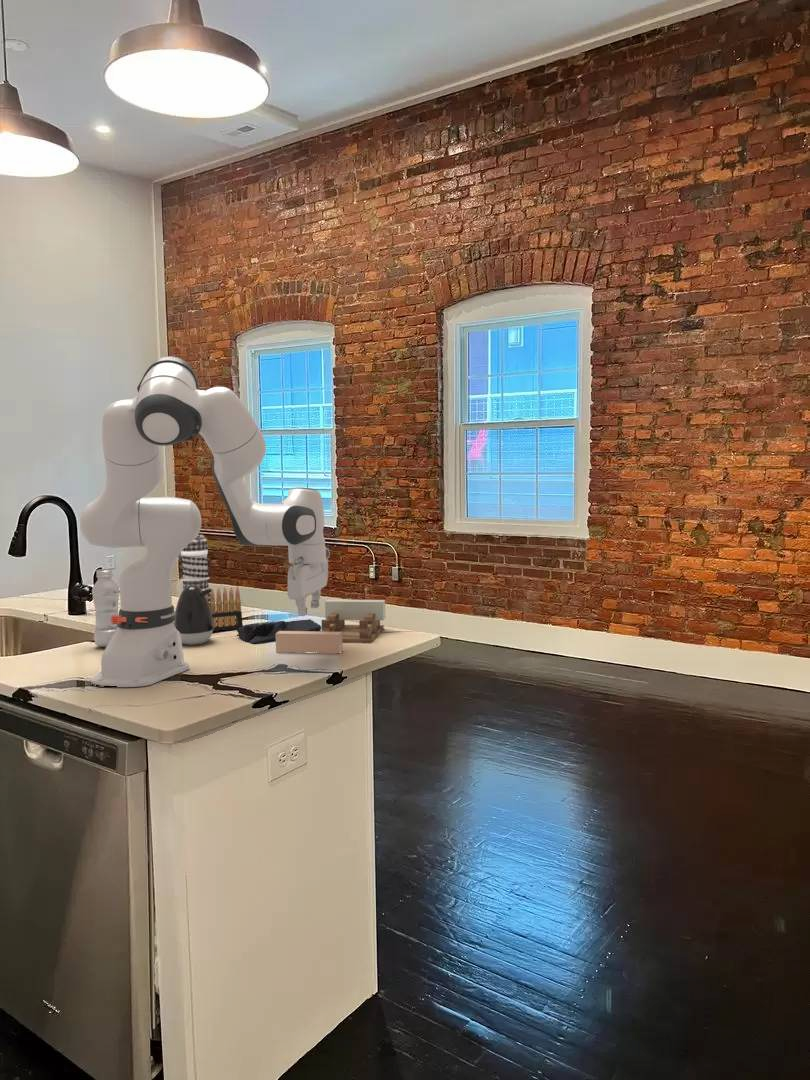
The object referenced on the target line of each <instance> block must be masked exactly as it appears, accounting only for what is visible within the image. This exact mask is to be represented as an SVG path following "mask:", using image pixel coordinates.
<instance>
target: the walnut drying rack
mask: <svg viewBox="0 0 810 1080" xmlns="http://www.w3.org/2000/svg"><path fill="white" fill-rule="evenodd" d="M358 621H359V624H346V623H345V622H346V620H339V613H331V614H330V615H328V616H327V620H326V619H321V632H342V641H343V643H349V642H362V644H371V643H372V642H373V641H375V639H376V638H377V637H378V636H379V635H380V634H381V633H382V632H383V631H384V630H385V625H383V624H381V620H375V614H374V613H368V614H367V615H366V616H364V620H358ZM383 627H384V628H383Z"/></svg>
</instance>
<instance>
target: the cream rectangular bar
mask: <svg viewBox="0 0 810 1080" xmlns="http://www.w3.org/2000/svg"><path fill="white" fill-rule="evenodd" d="M324 609H325V611H324V612H325V614H324V615H325V620H327V616H328V615H330V614H331V613H339V620H345V621H360V620H364V616H366V615H367V614H368V613H374V614H375V620H380V621H384V620H386V618H387V617H386V599H327V600H325V601H324Z"/></svg>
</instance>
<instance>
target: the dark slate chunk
mask: <svg viewBox="0 0 810 1080" xmlns="http://www.w3.org/2000/svg"><path fill="white" fill-rule="evenodd" d="M279 631H317V632H321V631H322V624H321V625H320V624H319V623H317V622H315V621H314V620H312V619H310V618H309V619H297V620H290V621H285V620H279V621H270V622H265V623H262V624H260V623H252V624H245V625H243V627H240V628H238V629H236V632H237V633H238V634H236V635H237V636H236V637H238V636H239V637H238V638H239V640H240V639H241V640H240V641H242V640H243V642H244V641H245V643H249V644H253V645H257V644H259V645H260V644H263V643H273V642H276V635H275V634H276V633H277V632H279Z"/></svg>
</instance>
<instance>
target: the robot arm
mask: <svg viewBox="0 0 810 1080" xmlns="http://www.w3.org/2000/svg"><path fill="white" fill-rule="evenodd" d="M198 385H199V384H198V378H197V375H196V373H195V370H194V369H193V367H192V366H191V365H190V364H189V363H188V362H187V361H185V360H184V359H183V358H180V357H177V356H171V355H169V356H163V357H160V358H158V359H157V360H155V361H154V362H152V363H151V365H150V366H149V367H148V368H147V369H146V371H145V373H143V376H142V379H141V380H140V381H139V384H138V386H137V387H136V389H137V390H136V391H137V392H138V393H137V395H136V396H135V397H134V398H131V399H120V400H117V401H114V402H112V403H110V404H109V405H108V406H107V407H106V408H105V409H104V412H103V414H102V420H101V421H102V422H101V440H102V441H101V442H102V450H103V451H102V452H103V456H104V463H105V473H106V475H105V476H106V480H105V481H106V482H105V486H104V488H103V491H102V492H101V494H100V495H98V497H96V498H95V499H93V500H92V501H91V502H88V504H87V505H86V506H85V507H84V509H83V510H82V512H81V514H80V519H79V526H80V530H81V533H82V536H83V537H84V539H85V540H86V541H87V542H88V544H90V545H91V546H97V547H101V548H103V547H104V548H111V549H115V548H116V549H117V548H118V549H119V548H134V547H135V548H139V547H140V548H142V547H143V548H146V555H145V556H144V557H143V558H142V559H140V560H137V561H136V562H134V563H132V564H130V565H129V566H126V568H124V569H123V571H122V572H121V573H120V575H119V579H118V581H119V582H118V583H119V585H118V587H119V600H120V609H118V610H119V611H118V616H117V615H112V616H111V617H112V618H111V619H112V620H111V623H112V624H117V626H118V628H117V631H116V632H115V634H114V636H113V637H112V639H111V641H110V642H109V644H108V646H107V647H105V649H104V650H103V651H102V654H101V659H100V670H101V671H100V672H98V673H97V674H96V675H94V676H93V677H91V678H90V679H89V683H90V682H92V683H95V684H100V685H109V686H117V687H116V688H136V687H147V686H150V685H153V684H156V683H158V682H161V681H163V680H165V679H168V678H170V677H173V676H175V675H178V674H180V673H183V672H185V671H187V670H190V664H189V663H188V662H185V658H184V651H183V643H182V642H181V635H180V632H179V631H178V630H177V629H176V627H175V625H174V621H175V606H174V604H173V603H172V601H173V600H172V596H173V595H172V583H173V582H172V577H173V570H174V567H175V564H176V562H177V560H178V558H179V554H181V551H182V550H183V549H184V548H185V547H186V546H187V545H188V544H189V543H190V542H192V541H193V540H194V539H195V538H196V537H197V535H199V533H200V531H201V528H202V523H203V522H202V515H201V512H200V509H199V507H198V506H197V504H196V503H194V501H192V500H191V499H185V498H181V497H176V496H175V497H174V496H159V497H158V496H157V497H147V496H149V495H151V493H153V492H154V491H155V490H156V489H157V488H158V486H159V485H160V484H161V482H162V478H163V470H162V463H161V454H160V453H161V451H160V447H161V446H162V447H163V446H164V447H165V446H173V445H176V444H180V443H181V442H184V441H185V442H186V441H192V440H194V439H195V438H196V437H197V436H198V435H200V437H202V439H203V440H204V442H205V443H206V445H207V447H208V449H209V450H210V452H211V454H212V456H213V458H212V462H211V473H212V477H213V480H214V481H215V484H216V486H217V489H218V491H219V494H220V496H221V498H222V501H223V503H224V505H225V508H226V510H227V512H228V514H229V517H230V518H229V519H230V521H231V526H232V530H233V534H234V535H235V537H236V538H237V539H238V541H239V542H240V544H242V545H244V546H247V547H255V546H256V547H258V546H277V547H278V546H284V547H285V546H287V547H288V549H287V551H288V553H287V554H288V563H289V564H292V565H291V566H290V567H289V568H288V570H287V571H288V572H287V585H286V586H287V598H288V599H289V600H295V605H296V607H297V614H298V616H300V617H305V616H306V615H307V614H308V607H307V605H306V601H307V597H309V596H311V600H310V607H311V608H312V609H317V608H319V607H320V599H321V593H322V591H321V590H322V589H323V588H325V587H326V586H327V584H328V580H329V579H328V578H329V560H328V559H329V558H330V549H329V548H327V547H326V539H325V537H324V526H325V511H324V503H323V499H322V495H321V493H320V491H319V490H317V489H315V488H311V487H293V488H289V490H288V494H287V497H286V498H285V499H284V500H283V501H281V502H280V503H262V502H261V503H259V502H257V501H255V500H252V498H251V496H250V495H249V493H248V489H247V487H246V485H245V483H244V480H243V478H244V477H247V476H248V475H250V474H252V473H253V472H254V471H255V470H256V469H257V468H258V467H259V466H260V465H261V464H262V462H263V460H264V458H265V456H266V452H267V445H266V440H265V438H264V435H263V433H262V432H261V429H260V427H259V426H258V424H257V422H256V420H255V419H254V416H252V414H251V412H250V411H249V409H248V408H247V406H246V405H245V403H244V402H243V401H242V400H241V399H240V397H239V396H238V395H237V394H236V393H235V391H233V390H232V389H231V388H228V387H225V386H214V387H211V388H208V389H206V390H205V389H204V390H200V389H198Z"/></svg>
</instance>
